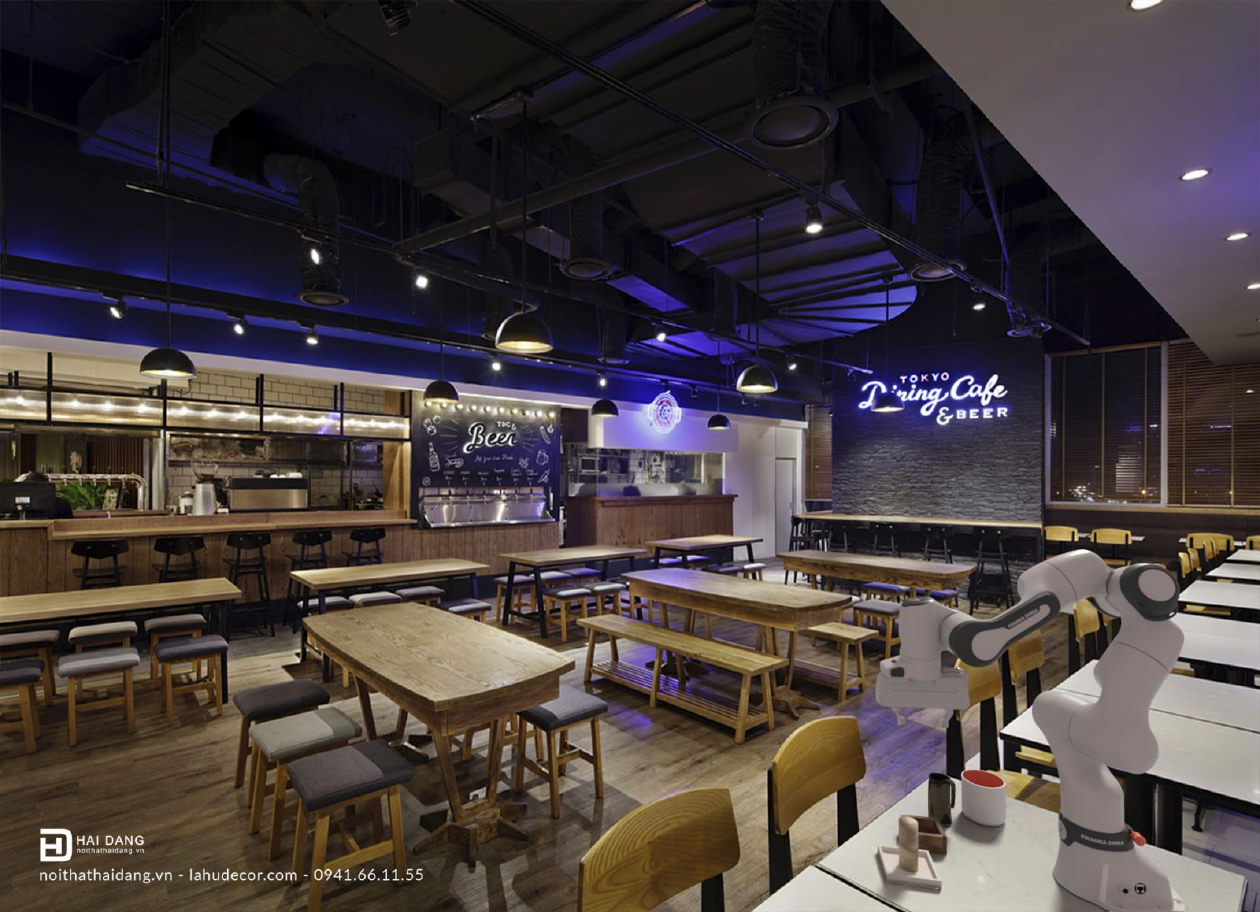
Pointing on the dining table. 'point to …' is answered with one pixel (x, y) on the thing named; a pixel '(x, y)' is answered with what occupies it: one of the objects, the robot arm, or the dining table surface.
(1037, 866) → the dining table surface
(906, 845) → the dowel
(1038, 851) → the dining table surface
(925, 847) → the holder
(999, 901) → the dining table surface
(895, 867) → the tray
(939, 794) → the mug
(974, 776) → the cup
